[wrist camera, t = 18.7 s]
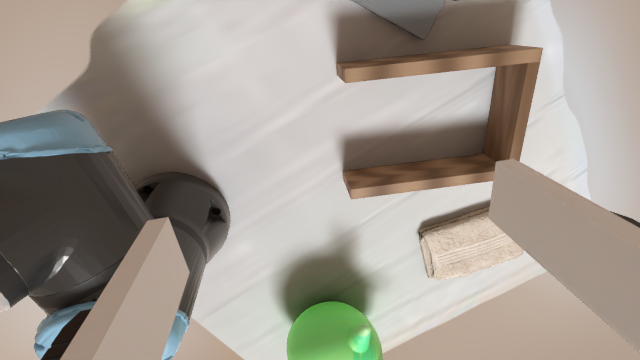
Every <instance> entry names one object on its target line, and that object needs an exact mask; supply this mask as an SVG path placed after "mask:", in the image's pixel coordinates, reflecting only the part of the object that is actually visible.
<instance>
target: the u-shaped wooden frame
mask: <svg viewBox="0 0 640 360" xmlns="http://www.w3.org/2000/svg"><path fill="white" fill-rule="evenodd" d="M542 50H543V48H537V47H527V46H518V45H503V46H494V47H484V48H475V49H466V50H456V51H447V52H437V53H428V54H418V55H409V56H400V57H390V58H381V59H371V60H362V61H352V62H343V63H337V75H338V76H339V77H340V78H341V79H342V80H343V81H344V82H345V83H350V82H359V81H368V80H377V79H386V78H395V77H405V76H414V75H423V74H432V73H441V72H450V71H459V70H468V69H477V68H487V67H496V66H497V67H496V73H495V80H494V86H493V93H492V99H491V106H490V113H489V119H488V126H487V132H486V139H485V146H484V152H483V154H476V155H468V156H460V157H452V158H444V159H436V160H428V161H420V162H412V163H404V164H396V165H388V166H380V167H372V168H364V169H357V170H349V171H343V178H344V182H345V185H346V187H347V190H348V192H349V195H350V198H351V199H358V198H365V197H373V196H381V195H388V194H396V193H404V192H411V191H419V190H427V189H434V188H442V187H450V186H457V185H465V184H473V183H480V182H488V181H493V180H494V172H495V165H496V162H497V161H503V160H509V159H515V160H517V161H519V160H520V156H521V151H522V146H523V141H524V136H525V132H526V127H527V122H528V117H529V112H530V108H531V103H532V98H533V93H534V88H535V84H536V79H537V74H538V69H539V65H540V60H541V55H542Z"/></svg>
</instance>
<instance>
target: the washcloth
mask: <svg viewBox="0 0 640 360" xmlns="http://www.w3.org/2000/svg"><path fill="white" fill-rule="evenodd" d="M489 208H490V206H489V207H487V208H484V209H480V210H476V211H475V212H470V213H468V214H466V215H462V216H460V217H457V218H453V219H451V220H449V221H446V222H442V223H438V224H435V225H432V226H428V227H425V228H421V229H419V232H420V242H419V243H420V246H421V250H422V253H423V258H424V263H425V268H426V273H427V276H428V278H435V279H436V280H437V281H441V280H444V279H448V278H452V277H458V276H461V277H465V276H468V275H469V274H471V273H474V272H477V271H479V270H483V269H487V268H490V267H493V266H496V265H498V264H500V263H503V262H506V261H510V260H513V259H516V258H518V257H519V256H521V255H522V254H523V249H522V248H521V247H520V246H519V245H518V244H517V243H516V242H514V241H513V240H512V239H511V238H510V237H509V236H508V235H507V234H505V233H504V232H503V231H502V230H501V229H500V228H499V227H497V226H496V225H495V224H494V223H493V222H492V221H491V220H490V219H488V215H489Z"/></svg>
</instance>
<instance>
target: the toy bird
mask: <svg viewBox="0 0 640 360" xmlns="http://www.w3.org/2000/svg"><path fill="white" fill-rule="evenodd" d="M287 357H288V360H382V347H381V343H380V340H379V337H378V335H377V333H376V331H375V329H374V327H373V326H372V324H371V323H370V321H369V320H368V319H367V318H366V317H365V316H364V315H363V314H362V313H361V312H360V311H358V310H357V309H355V308H354V307H352V306H350V305H348V304H345V303H342V302H336V301H329V302H322V303H319V304H316V305H313V306H311V307H310V308H308V309H306V310H305V311H304V312H303V313H302V314H301V315H300V316H299V317H298V318H297V319H296V320H295V322H294V323H293V325H292V327H291V329H290V332H289V335H288V339H287Z"/></svg>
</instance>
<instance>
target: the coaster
mask: <svg viewBox="0 0 640 360" xmlns="http://www.w3.org/2000/svg"><path fill="white" fill-rule="evenodd" d="M352 1H353V2H355V3H357V4H359V5H360V6H362V7H364V8H366V9H368V10H369V11H371V12H373V13H375V14H377V15H378V16H380V17H382V18H384V19H386V20H387V21H389V22H391V23H393V24H395V25H396V26H398V27H400V28H402V29H403V30H405V31H407V32H409V33H411V34H412V35H414V36H416V37H418V38H420V39H422V40H425V38H426V36H427V34H428V32H429V30H430V29H431V27H432V25H433V23H434V21H435V19H436V17H437V16H438V14H439V12H440V10H441V8H442V6H443V5H444V3H445V1H446V0H352Z"/></svg>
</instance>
